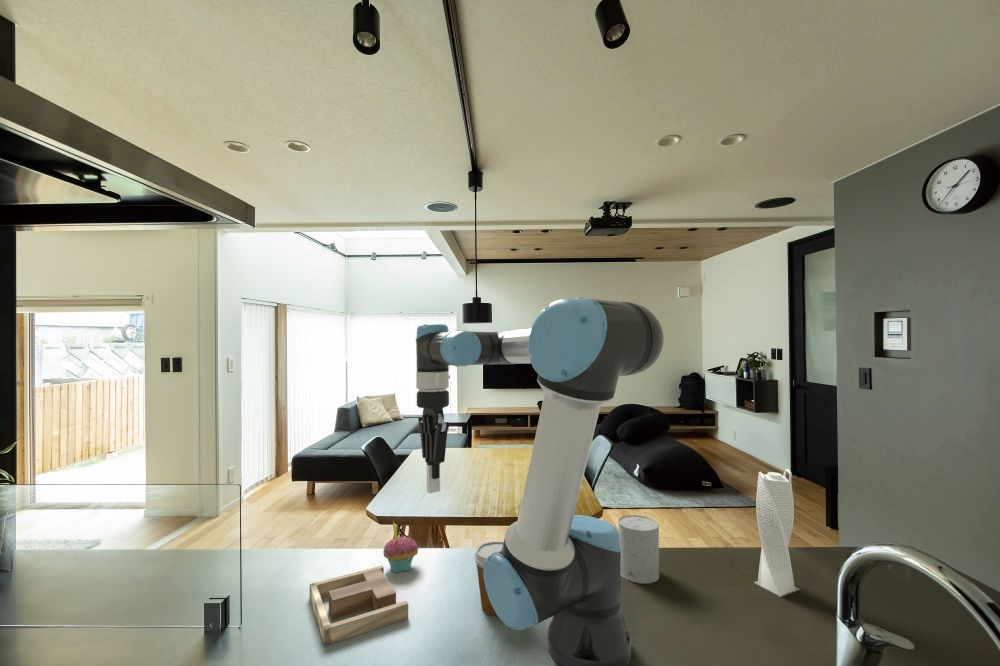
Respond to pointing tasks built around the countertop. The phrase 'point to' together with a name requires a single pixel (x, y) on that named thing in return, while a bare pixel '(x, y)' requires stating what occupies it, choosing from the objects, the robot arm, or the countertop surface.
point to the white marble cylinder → (639, 548)
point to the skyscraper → (775, 532)
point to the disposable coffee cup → (480, 558)
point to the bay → (353, 624)
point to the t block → (362, 595)
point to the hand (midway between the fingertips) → (433, 491)
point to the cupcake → (400, 552)
